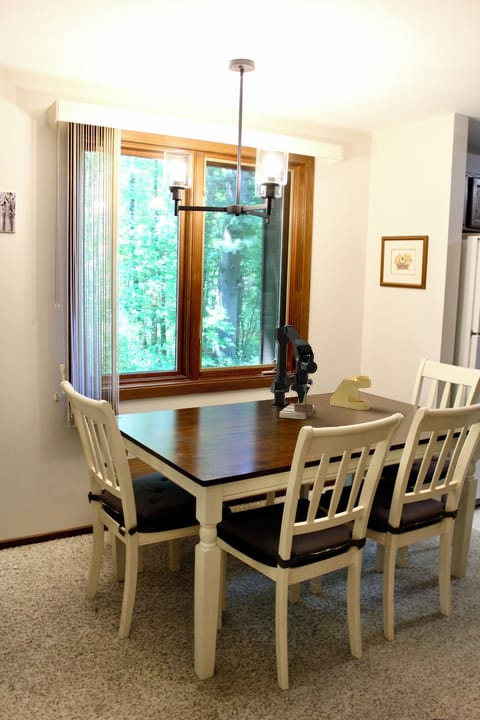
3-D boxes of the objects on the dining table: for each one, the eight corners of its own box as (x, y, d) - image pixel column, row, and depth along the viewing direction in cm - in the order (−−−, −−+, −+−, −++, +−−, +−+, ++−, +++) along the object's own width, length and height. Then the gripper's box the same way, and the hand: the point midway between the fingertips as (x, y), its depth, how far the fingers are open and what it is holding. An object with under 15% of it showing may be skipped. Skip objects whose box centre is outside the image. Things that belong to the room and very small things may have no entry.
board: (290, 408, 333) (291, 403, 332) (314, 410, 329) (314, 405, 328) (279, 417, 314) (279, 411, 314) (304, 419, 310) (304, 414, 310)
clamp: (373, 407, 335) (374, 376, 333) (363, 410, 329) (364, 379, 326) (340, 402, 349) (341, 371, 346) (330, 404, 342) (330, 374, 339)
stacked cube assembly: (296, 412, 320) (296, 392, 319) (312, 414, 318) (313, 393, 316) (293, 415, 316) (294, 394, 314) (310, 416, 313) (310, 395, 311)
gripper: (291, 366, 325) (290, 397, 327) (280, 372, 307) (279, 405, 310) (313, 367, 321) (312, 399, 324) (303, 373, 304) (303, 407, 306)
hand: (301, 402), depth 316 cm, fingers closed on stacked cube assembly, 3 cm apart
